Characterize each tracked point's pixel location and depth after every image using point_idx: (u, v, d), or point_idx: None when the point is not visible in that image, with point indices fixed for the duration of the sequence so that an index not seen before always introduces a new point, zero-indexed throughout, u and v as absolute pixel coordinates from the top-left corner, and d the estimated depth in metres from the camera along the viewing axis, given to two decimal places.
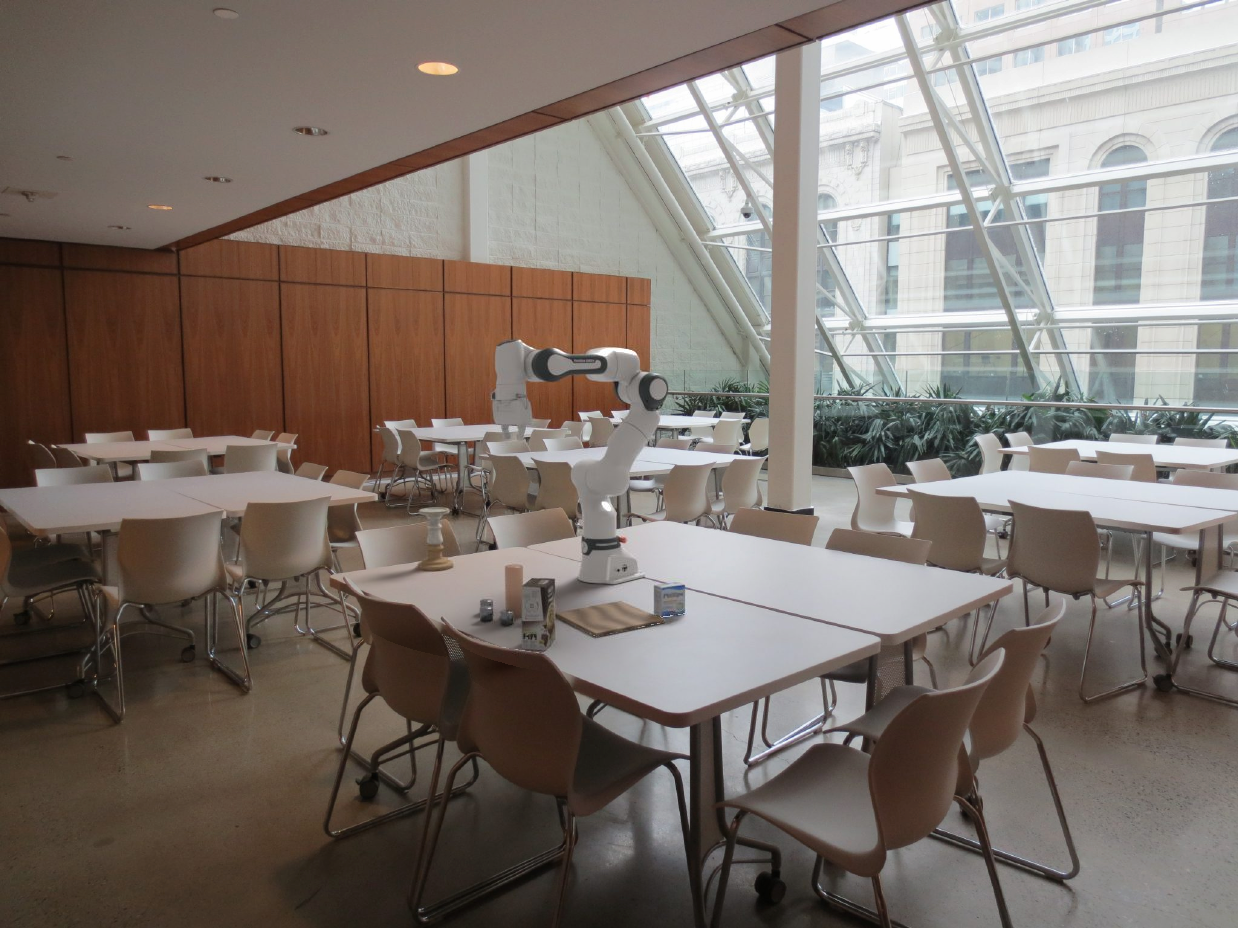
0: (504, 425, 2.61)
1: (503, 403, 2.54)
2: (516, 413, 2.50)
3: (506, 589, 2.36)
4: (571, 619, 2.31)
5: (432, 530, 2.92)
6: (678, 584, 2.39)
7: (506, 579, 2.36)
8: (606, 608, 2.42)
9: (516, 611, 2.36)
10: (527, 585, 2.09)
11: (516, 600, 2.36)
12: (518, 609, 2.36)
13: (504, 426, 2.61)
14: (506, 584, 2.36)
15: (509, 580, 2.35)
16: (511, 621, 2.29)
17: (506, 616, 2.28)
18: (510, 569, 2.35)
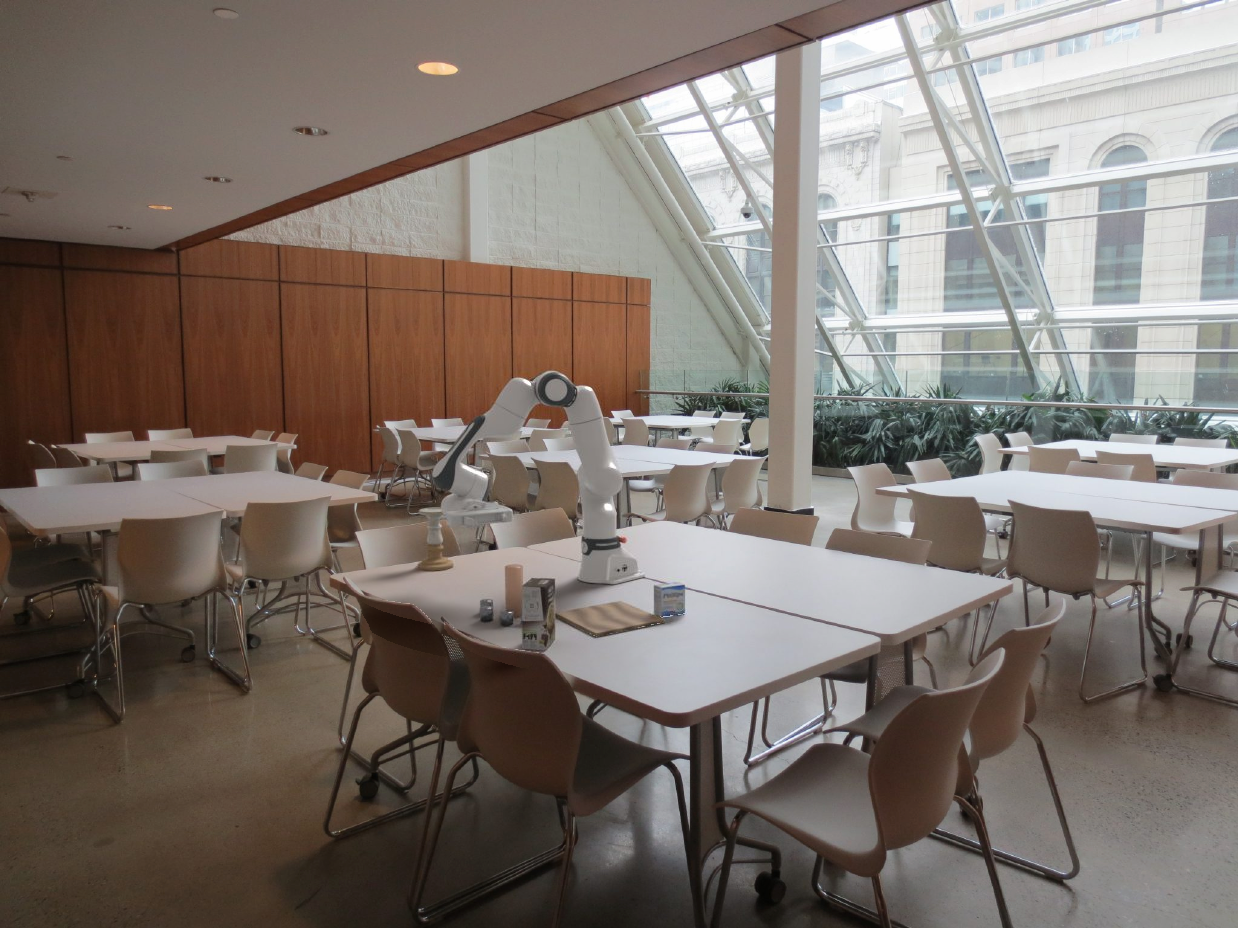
0: (500, 518, 2.55)
1: (472, 525, 2.57)
2: None
3: (506, 589, 2.36)
4: (571, 619, 2.31)
5: (432, 530, 2.92)
6: (678, 584, 2.39)
7: (506, 579, 2.36)
8: (606, 608, 2.42)
9: (516, 611, 2.36)
10: (527, 585, 2.09)
11: (516, 600, 2.36)
12: (518, 609, 2.36)
13: (500, 519, 2.54)
14: (506, 584, 2.36)
15: (509, 580, 2.35)
16: (511, 621, 2.29)
17: (506, 616, 2.28)
18: (510, 569, 2.35)
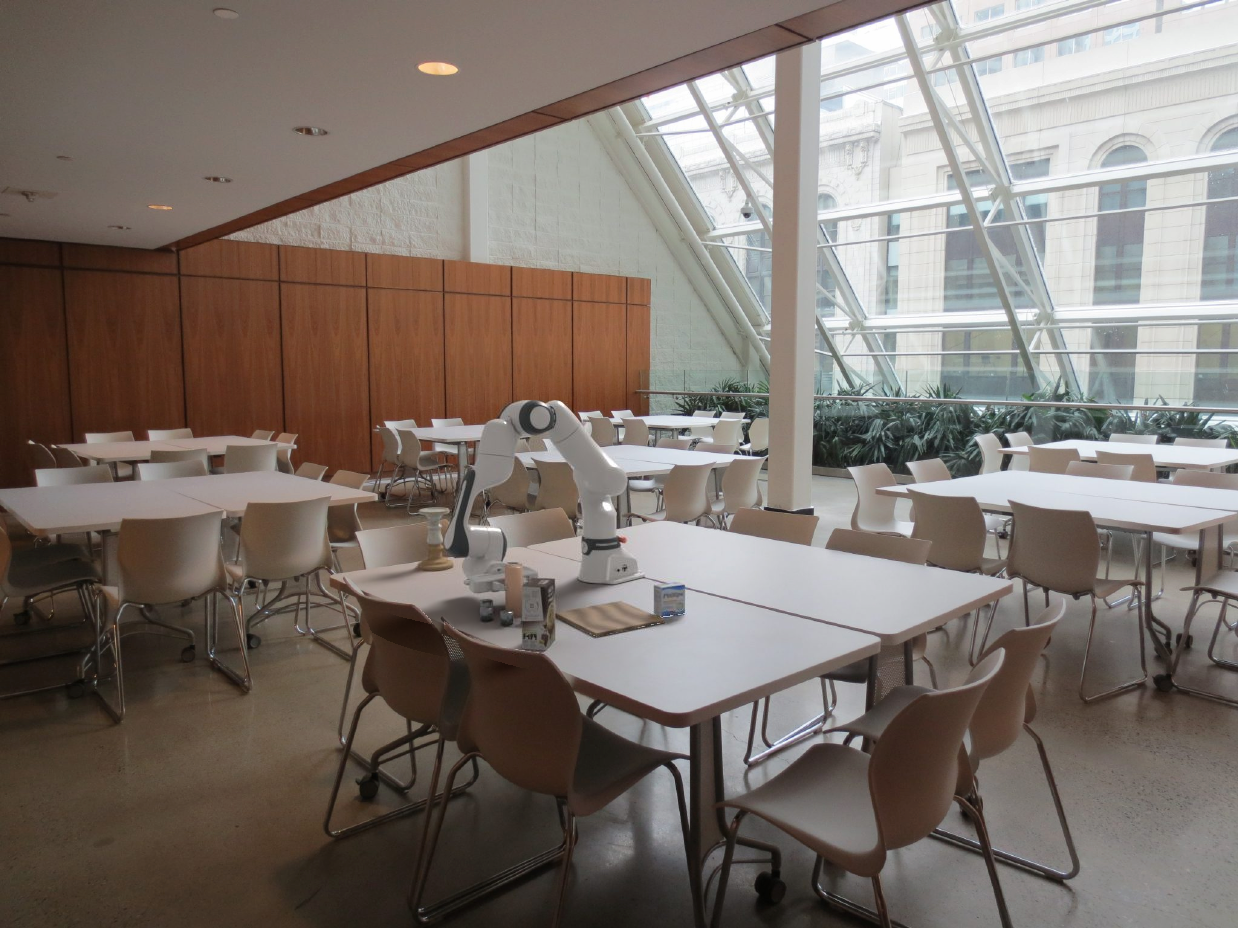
0: None
1: None
2: None
3: None
4: (571, 619, 2.31)
5: (432, 530, 2.92)
6: (678, 584, 2.39)
7: (506, 579, 2.36)
8: (606, 608, 2.42)
9: (516, 611, 2.36)
10: (527, 585, 2.09)
11: (516, 600, 2.36)
12: (518, 609, 2.36)
13: None
14: None
15: (510, 580, 2.35)
16: (511, 621, 2.29)
17: (506, 616, 2.28)
18: (510, 569, 2.35)
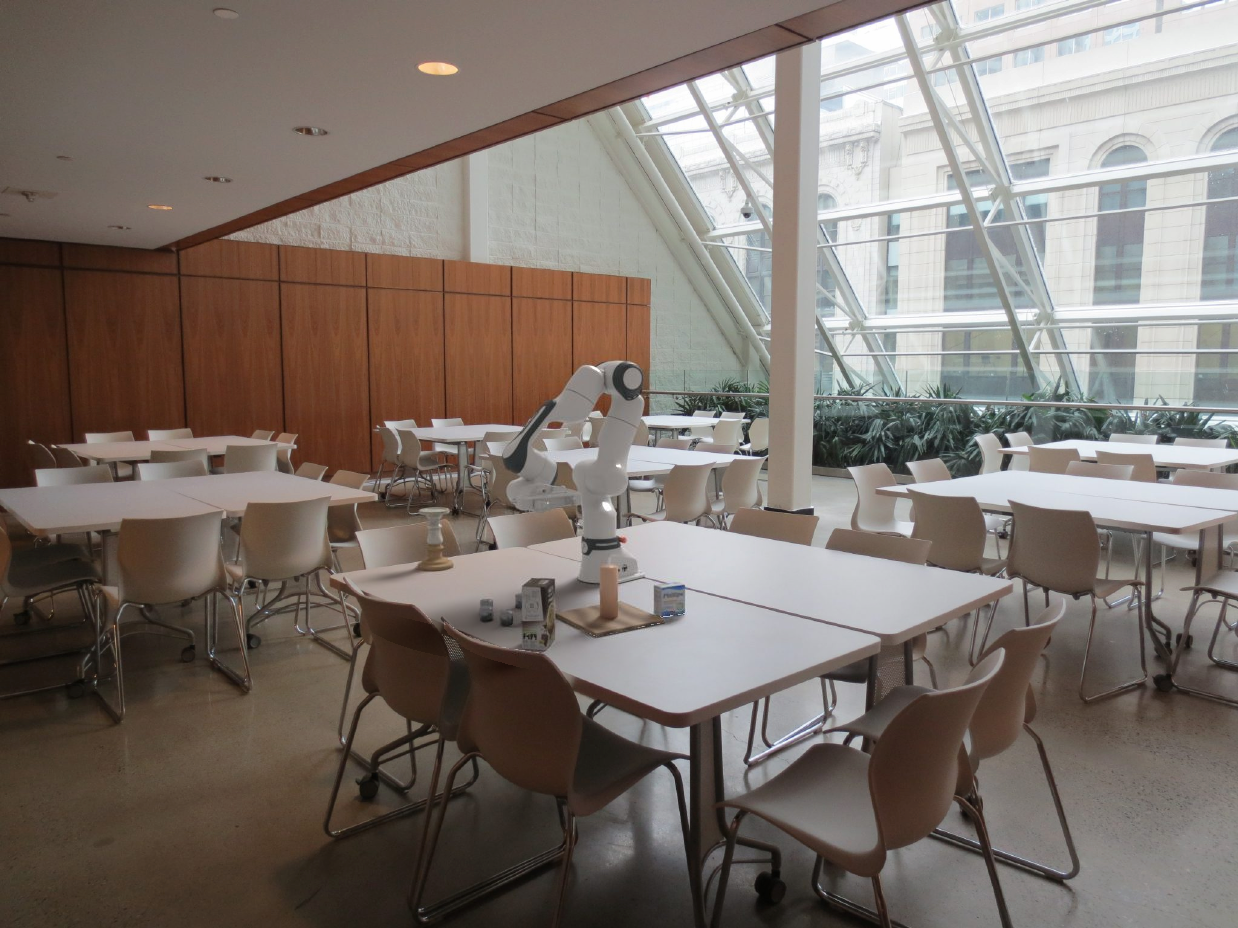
0: (569, 502, 2.51)
1: (541, 509, 2.54)
2: None
3: (601, 589, 2.32)
4: (571, 619, 2.31)
5: (432, 530, 2.92)
6: (678, 584, 2.39)
7: (602, 579, 2.32)
8: None
9: (611, 612, 2.32)
10: (527, 585, 2.09)
11: (611, 600, 2.32)
12: (613, 610, 2.32)
13: (569, 502, 2.51)
14: (601, 584, 2.32)
15: (605, 581, 2.31)
16: (511, 621, 2.29)
17: (506, 616, 2.28)
18: (606, 569, 2.30)
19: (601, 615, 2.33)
